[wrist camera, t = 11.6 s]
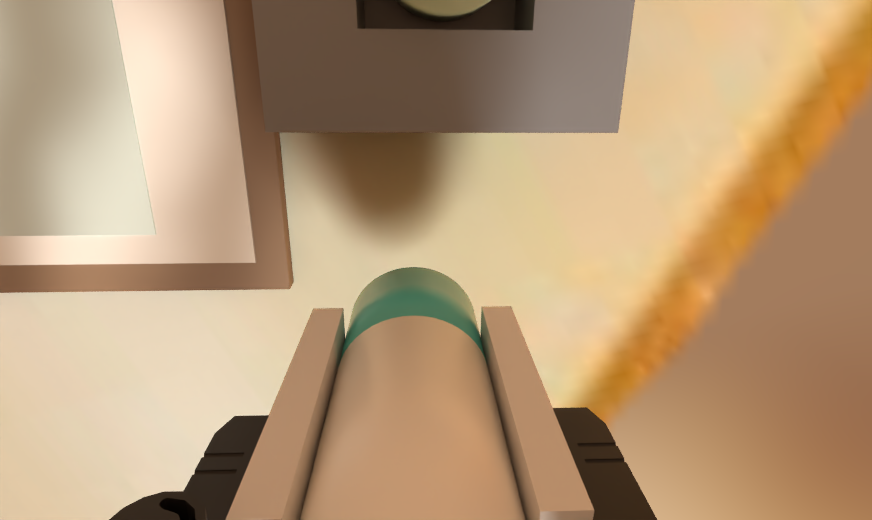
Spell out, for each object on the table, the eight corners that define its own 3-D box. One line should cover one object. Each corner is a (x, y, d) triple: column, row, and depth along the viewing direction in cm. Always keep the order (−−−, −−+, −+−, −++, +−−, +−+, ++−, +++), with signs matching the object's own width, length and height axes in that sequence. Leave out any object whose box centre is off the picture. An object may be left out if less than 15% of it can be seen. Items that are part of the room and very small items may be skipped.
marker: (350, 382, 16) (187, 1197, 4) (344, 264, 14) (83, 999, 3) (476, 379, 16) (634, 1161, 4) (481, 263, 14) (720, 955, 3)
